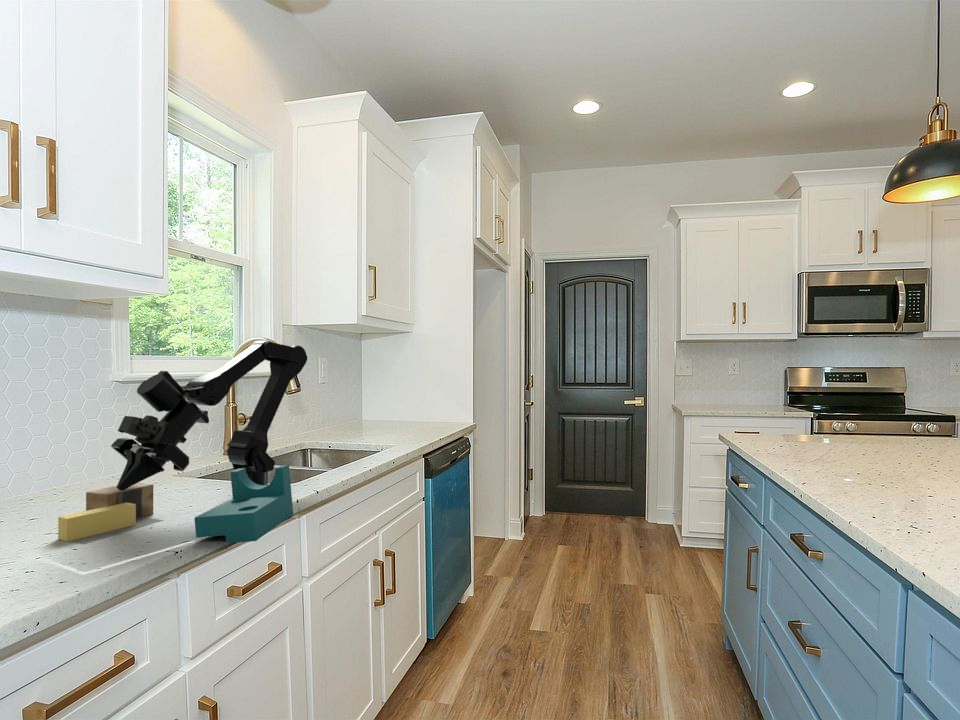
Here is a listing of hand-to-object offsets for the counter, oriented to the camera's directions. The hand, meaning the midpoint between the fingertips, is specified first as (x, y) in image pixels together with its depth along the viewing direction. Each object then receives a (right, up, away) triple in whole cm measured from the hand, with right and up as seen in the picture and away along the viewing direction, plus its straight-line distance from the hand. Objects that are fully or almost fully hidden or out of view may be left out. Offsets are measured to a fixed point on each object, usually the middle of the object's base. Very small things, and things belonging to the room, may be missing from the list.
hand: (119, 489), depth 110 cm
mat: (0, -8, -2) cm, 8 cm away
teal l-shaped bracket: (+25, -8, +1) cm, 26 cm away
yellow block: (+1, -5, +2) cm, 6 cm away
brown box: (-3, -8, +6) cm, 10 cm away
